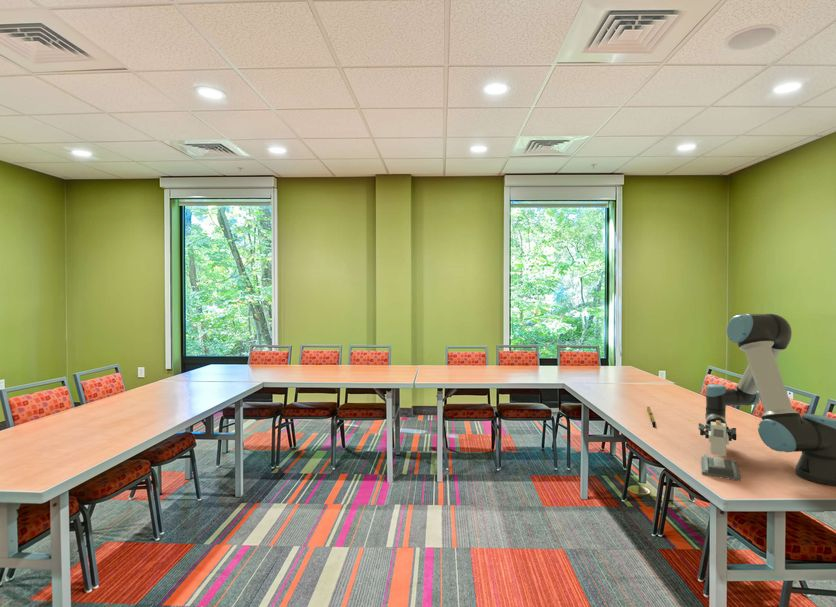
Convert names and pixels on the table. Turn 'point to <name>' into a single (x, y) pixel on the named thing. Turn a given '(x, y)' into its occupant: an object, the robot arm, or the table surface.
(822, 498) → the table surface
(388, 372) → the table surface
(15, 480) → the table surface
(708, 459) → the rail board
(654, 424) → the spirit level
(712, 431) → the din module
